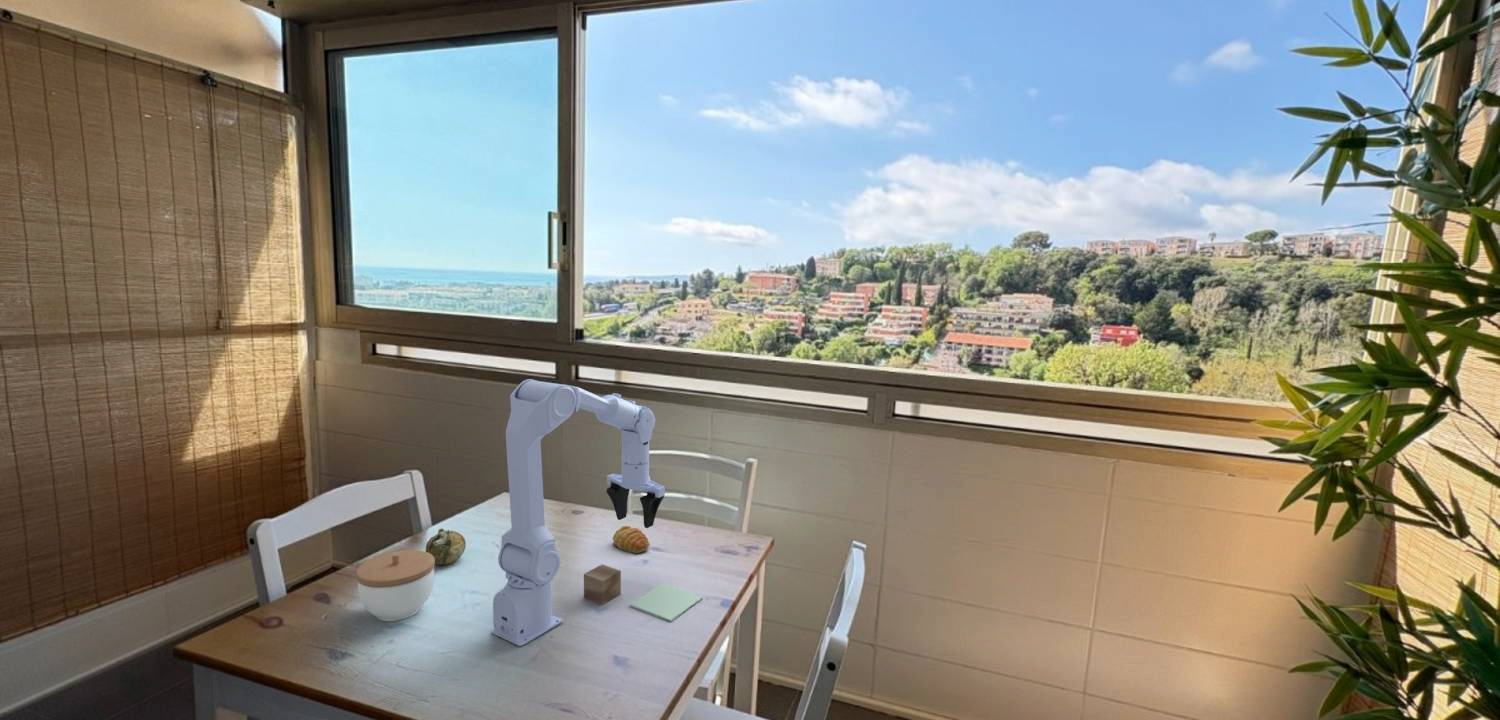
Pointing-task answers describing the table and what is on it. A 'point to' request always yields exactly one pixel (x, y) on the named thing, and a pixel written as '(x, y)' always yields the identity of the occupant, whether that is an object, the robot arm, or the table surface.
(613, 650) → the table surface
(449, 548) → the green pumpkin
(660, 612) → the green pad
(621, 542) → the pastry
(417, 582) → the lidded bowl
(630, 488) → the robot arm
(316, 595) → the table surface
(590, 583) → the walnut cube
